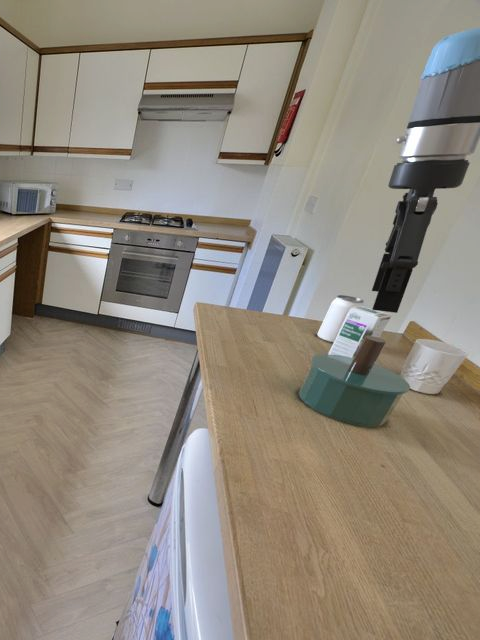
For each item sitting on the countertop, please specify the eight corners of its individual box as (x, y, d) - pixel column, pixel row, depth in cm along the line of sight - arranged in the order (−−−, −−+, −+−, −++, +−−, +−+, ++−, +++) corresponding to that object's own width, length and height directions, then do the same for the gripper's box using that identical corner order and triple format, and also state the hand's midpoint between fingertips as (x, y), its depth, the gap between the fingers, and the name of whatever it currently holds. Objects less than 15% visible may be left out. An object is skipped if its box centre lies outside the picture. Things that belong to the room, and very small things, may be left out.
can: (325, 342, 112) (345, 301, 106) (311, 333, 117) (329, 293, 112) (351, 345, 111) (372, 303, 106) (336, 335, 117) (355, 295, 111)
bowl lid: (403, 377, 81) (425, 339, 77) (410, 407, 70) (436, 366, 67) (312, 352, 89) (328, 317, 85) (306, 376, 79) (324, 338, 75)
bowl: (383, 406, 83) (401, 374, 80) (386, 436, 74) (407, 402, 71) (302, 381, 91) (316, 351, 88) (295, 405, 82) (310, 373, 79)
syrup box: (322, 362, 101) (349, 307, 94) (336, 358, 103) (363, 304, 96) (349, 373, 96) (379, 316, 90) (363, 369, 98) (393, 313, 92)
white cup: (393, 373, 97) (415, 335, 92) (441, 387, 92) (467, 347, 87) (392, 385, 92) (415, 345, 87) (442, 400, 87) (470, 359, 82)
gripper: (392, 161, 70) (354, 282, 78) (400, 160, 53) (350, 315, 61) (458, 158, 65) (410, 287, 73) (489, 156, 48) (423, 325, 56)
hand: (383, 300), depth 67 cm, fingers open, 13 cm apart
